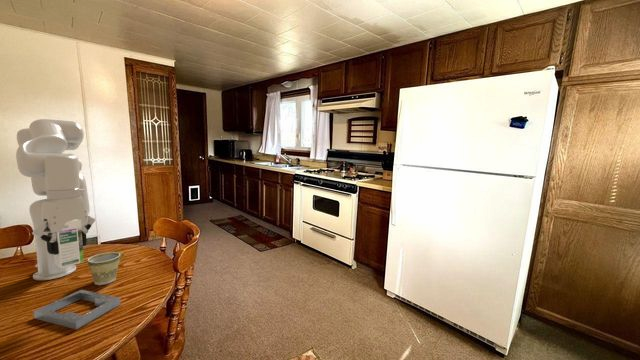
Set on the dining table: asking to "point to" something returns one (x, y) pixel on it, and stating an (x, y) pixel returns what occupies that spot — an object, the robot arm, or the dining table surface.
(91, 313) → the grey rectangular frame
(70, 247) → the syrup box
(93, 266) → the ceramic cup
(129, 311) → the dining table surface
